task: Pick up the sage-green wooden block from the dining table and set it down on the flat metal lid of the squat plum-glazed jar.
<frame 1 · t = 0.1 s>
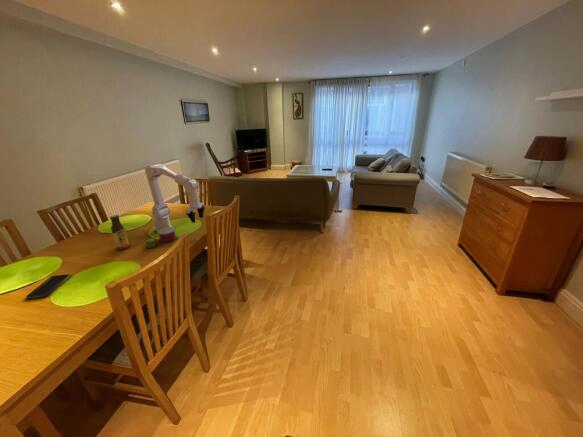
hand: (197, 220, 151), 10 cm above the table, tool pointing down, fingers open, 7 cm apart
phone: (50, 287, 107), on the table
sauce bottle: (123, 247, 140), on the table
jar: (168, 238, 149), on the table
block: (152, 246, 141), on the table
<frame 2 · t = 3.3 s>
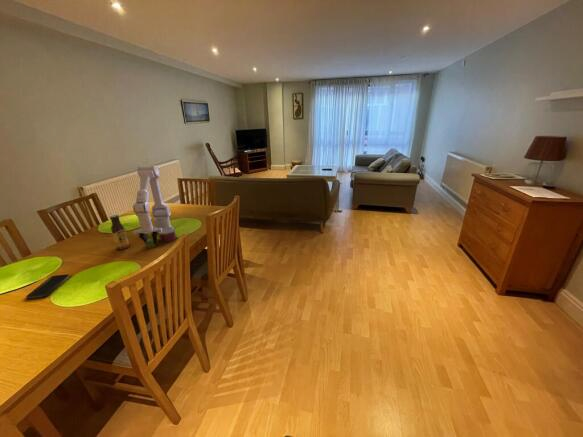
hand: (151, 243, 141), 1 cm above the table, tool pointing down, fingers closed on block, 4 cm apart
block: (152, 246, 141), on the table, touching gripper
everything else where it was.
when the fingers open (7 cm above the table, at t = 6.7 s): block stays where it is, resting on jar.
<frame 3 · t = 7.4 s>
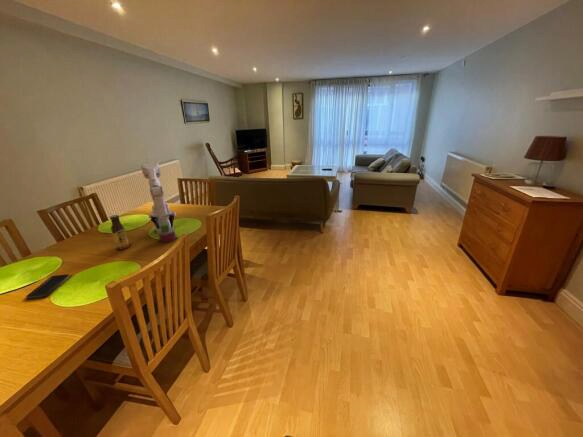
hand: (165, 227, 146), 8 cm above the table, tool pointing down, fingers open, 7 cm apart
block: (166, 230, 147), point 6 cm above the table, touching jar
everything else where it was.
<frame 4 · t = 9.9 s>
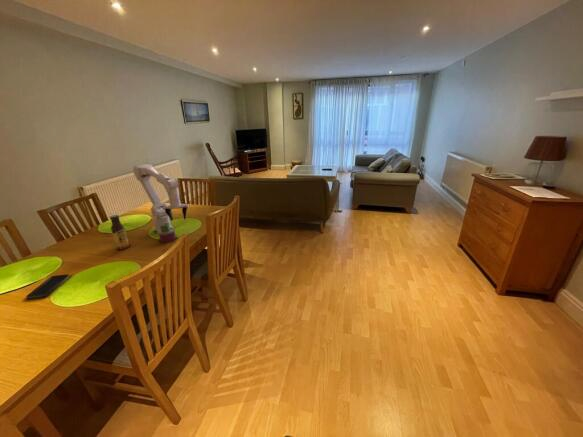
hand: (178, 219, 151), 10 cm above the table, tool pointing down, fingers open, 7 cm apart
nothing on the table moved.
at the end: block 0.0 cm off-centre on the jar, point 6.0 cm above the jar's base; block tilted 0°; the gripper is holding nothing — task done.
